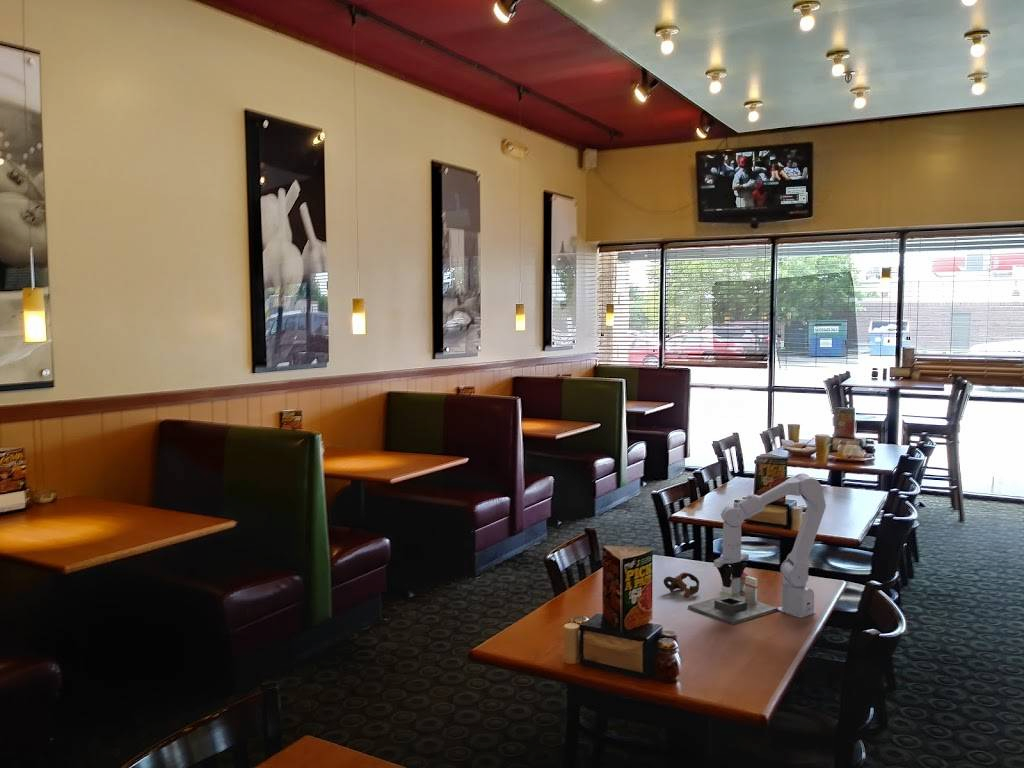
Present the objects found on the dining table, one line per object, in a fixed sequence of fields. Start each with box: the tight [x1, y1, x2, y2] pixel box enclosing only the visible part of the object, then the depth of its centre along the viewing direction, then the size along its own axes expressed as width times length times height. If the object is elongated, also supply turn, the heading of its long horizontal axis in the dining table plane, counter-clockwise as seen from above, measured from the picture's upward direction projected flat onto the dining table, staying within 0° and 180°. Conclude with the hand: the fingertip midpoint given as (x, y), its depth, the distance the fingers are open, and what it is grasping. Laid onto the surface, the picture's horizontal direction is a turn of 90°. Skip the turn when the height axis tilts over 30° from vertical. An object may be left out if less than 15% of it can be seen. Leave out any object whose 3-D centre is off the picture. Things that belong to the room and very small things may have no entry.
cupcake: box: [731, 571, 749, 592], centre depth 285 cm, size 9×8×12 cm
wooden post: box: [721, 575, 741, 599], centre depth 264 cm, size 4×4×6 cm
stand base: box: [687, 575, 778, 625], centre depth 265 cm, size 18×22×9 cm
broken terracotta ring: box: [663, 572, 700, 599], centre depth 281 cm, size 12×9×8 cm
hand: (731, 585), depth 264 cm, fingers closed on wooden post, 4 cm apart
